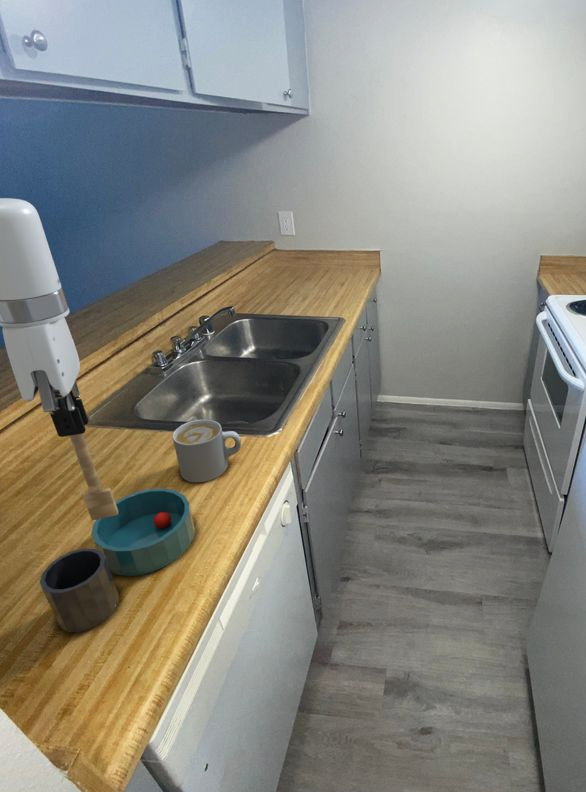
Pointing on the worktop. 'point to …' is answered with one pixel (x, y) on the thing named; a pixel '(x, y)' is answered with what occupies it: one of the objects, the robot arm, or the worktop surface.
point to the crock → (80, 589)
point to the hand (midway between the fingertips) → (74, 429)
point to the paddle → (93, 482)
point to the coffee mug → (203, 449)
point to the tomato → (162, 520)
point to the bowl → (144, 532)
